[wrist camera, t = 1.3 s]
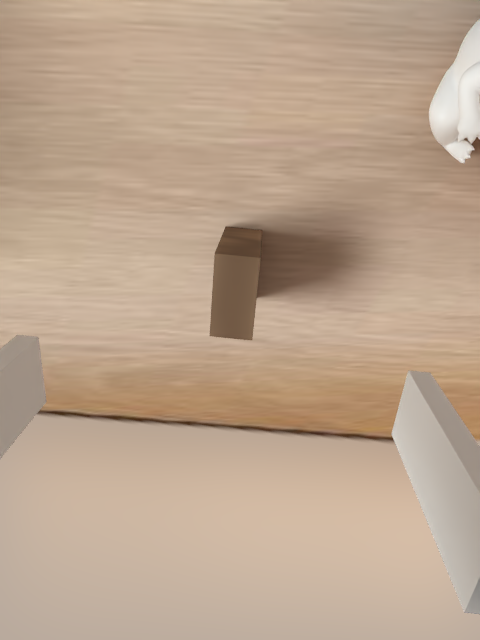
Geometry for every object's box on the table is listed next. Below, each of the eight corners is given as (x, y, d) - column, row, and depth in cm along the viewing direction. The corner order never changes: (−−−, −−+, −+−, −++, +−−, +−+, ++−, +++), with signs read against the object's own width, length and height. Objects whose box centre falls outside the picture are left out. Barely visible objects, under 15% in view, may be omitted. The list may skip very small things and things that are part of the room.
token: (221, 294, 32) (209, 336, 26) (225, 226, 30) (214, 253, 24) (254, 298, 32) (252, 340, 26) (261, 230, 30) (260, 257, 24)
